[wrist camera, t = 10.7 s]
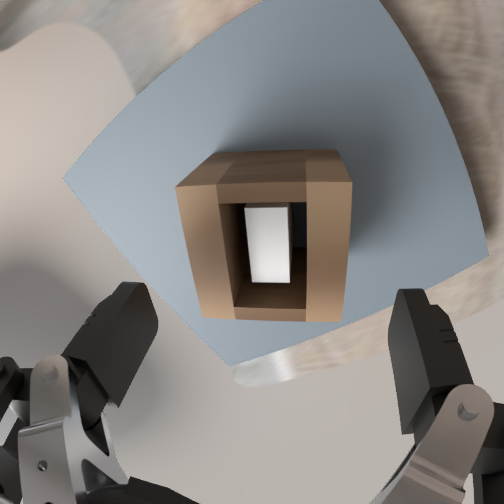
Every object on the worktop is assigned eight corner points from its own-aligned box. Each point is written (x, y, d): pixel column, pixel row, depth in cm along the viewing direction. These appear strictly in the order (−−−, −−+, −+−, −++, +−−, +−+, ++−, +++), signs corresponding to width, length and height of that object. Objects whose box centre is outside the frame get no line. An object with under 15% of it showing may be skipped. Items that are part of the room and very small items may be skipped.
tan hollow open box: (212, 153, 15) (174, 187, 11) (337, 149, 14) (352, 182, 10) (226, 258, 18) (202, 317, 14) (334, 258, 17) (341, 321, 13)
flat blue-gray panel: (341, -28, 10) (358, -75, 5) (476, 239, 17) (518, 295, 12) (80, 168, 18) (20, 203, 13) (234, 347, 25) (217, 409, 20)
